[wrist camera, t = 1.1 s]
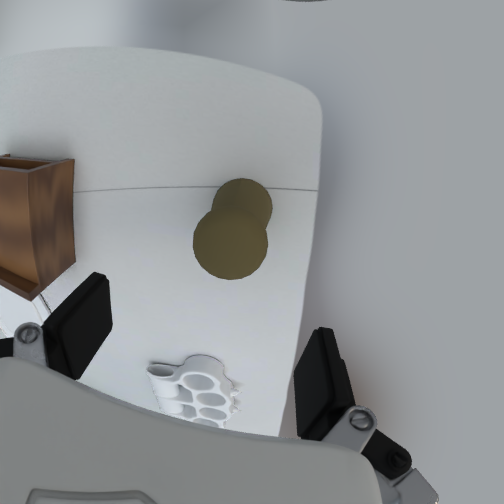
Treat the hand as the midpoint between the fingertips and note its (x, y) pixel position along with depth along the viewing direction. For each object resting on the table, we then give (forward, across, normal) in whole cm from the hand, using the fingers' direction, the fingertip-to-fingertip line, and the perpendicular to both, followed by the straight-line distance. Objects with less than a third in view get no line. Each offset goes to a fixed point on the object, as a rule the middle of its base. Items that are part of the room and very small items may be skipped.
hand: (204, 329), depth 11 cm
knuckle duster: (+19, +1, +30) cm, 36 cm away
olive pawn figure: (+18, 0, -1) cm, 18 cm away
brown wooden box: (+18, +29, +4) cm, 34 cm away
